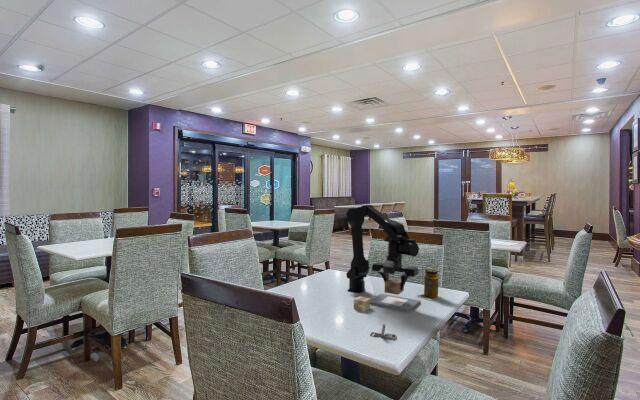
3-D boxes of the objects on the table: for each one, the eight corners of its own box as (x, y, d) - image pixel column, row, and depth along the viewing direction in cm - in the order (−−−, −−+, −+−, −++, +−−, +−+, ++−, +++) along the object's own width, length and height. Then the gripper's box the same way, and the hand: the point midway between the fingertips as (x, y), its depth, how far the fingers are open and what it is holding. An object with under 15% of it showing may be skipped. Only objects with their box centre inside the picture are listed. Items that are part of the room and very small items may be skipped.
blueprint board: (368, 304, 148) (368, 301, 148) (380, 295, 160) (381, 293, 160) (409, 312, 139) (409, 309, 139) (420, 302, 150) (420, 300, 150)
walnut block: (384, 292, 148) (384, 281, 148) (390, 288, 154) (390, 278, 154) (398, 294, 145) (398, 284, 145) (403, 290, 151) (403, 280, 151)
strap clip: (397, 337, 116) (397, 324, 116) (395, 341, 113) (395, 328, 113) (371, 333, 119) (372, 321, 119) (369, 336, 116) (369, 324, 116)
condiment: (442, 297, 158) (442, 271, 158) (429, 300, 154) (430, 273, 153) (429, 293, 165) (429, 268, 164) (416, 296, 160) (417, 270, 160)
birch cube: (353, 308, 143) (353, 299, 143) (359, 305, 147) (359, 296, 147) (364, 311, 140) (364, 301, 140) (370, 307, 144) (370, 298, 144)
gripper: (366, 253, 147) (366, 290, 147) (410, 258, 137) (409, 297, 137) (377, 249, 156) (376, 284, 157) (418, 254, 146) (418, 291, 147)
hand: (394, 289), depth 149 cm, fingers closed on walnut block, 6 cm apart
